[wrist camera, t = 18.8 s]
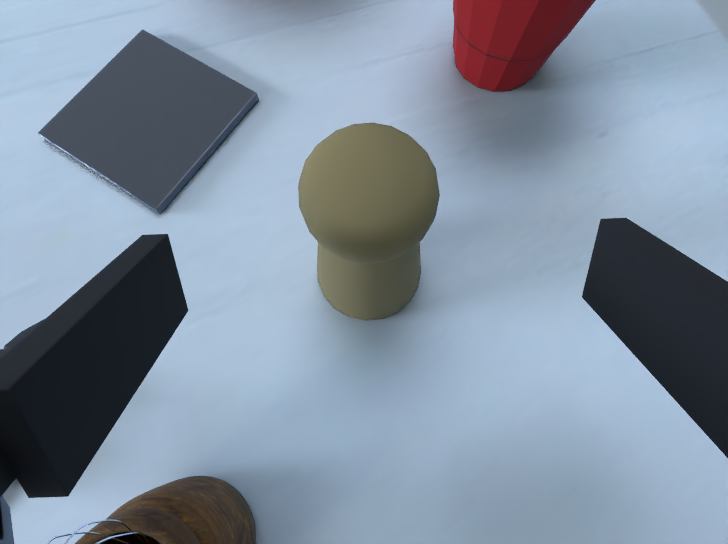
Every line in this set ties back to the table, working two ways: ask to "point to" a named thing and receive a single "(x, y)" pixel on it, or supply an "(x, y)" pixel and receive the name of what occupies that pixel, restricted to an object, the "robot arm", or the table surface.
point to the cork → (368, 216)
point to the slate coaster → (150, 119)
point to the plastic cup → (510, 38)
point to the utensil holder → (178, 516)
